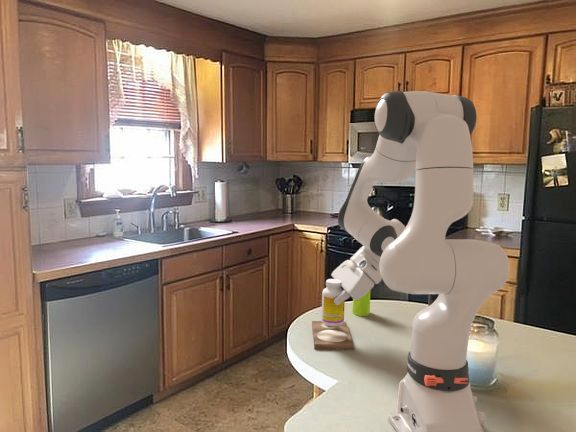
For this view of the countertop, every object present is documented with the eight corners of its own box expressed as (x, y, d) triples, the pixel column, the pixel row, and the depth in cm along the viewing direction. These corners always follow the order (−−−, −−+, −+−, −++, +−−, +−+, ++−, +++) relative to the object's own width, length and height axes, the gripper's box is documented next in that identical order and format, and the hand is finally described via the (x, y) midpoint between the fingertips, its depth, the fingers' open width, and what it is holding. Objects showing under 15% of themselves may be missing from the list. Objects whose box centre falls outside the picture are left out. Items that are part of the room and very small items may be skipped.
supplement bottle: (346, 326, 136) (348, 284, 133) (324, 327, 134) (325, 284, 132) (340, 318, 142) (342, 277, 140) (319, 319, 141) (320, 278, 139)
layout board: (353, 349, 133) (353, 328, 132) (314, 349, 133) (315, 327, 132) (345, 326, 151) (346, 306, 150) (311, 325, 151) (312, 306, 150)
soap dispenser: (361, 308, 168) (364, 254, 165) (372, 314, 162) (375, 258, 159) (347, 310, 165) (349, 255, 163) (358, 316, 159) (360, 259, 156)
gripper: (347, 250, 147) (316, 281, 146) (369, 266, 127) (333, 302, 126) (360, 263, 148) (329, 294, 148) (383, 282, 128) (348, 317, 128)
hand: (331, 298), depth 137 cm, fingers closed on supplement bottle, 7 cm apart
